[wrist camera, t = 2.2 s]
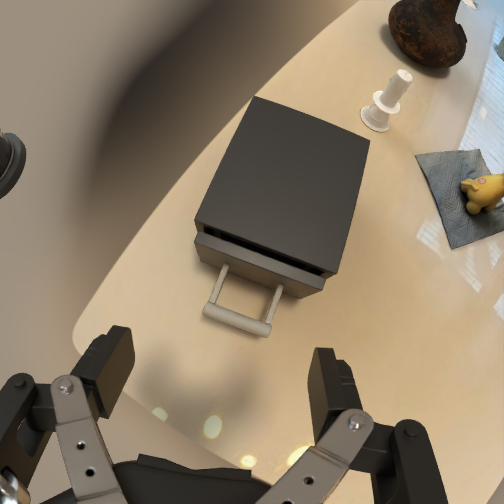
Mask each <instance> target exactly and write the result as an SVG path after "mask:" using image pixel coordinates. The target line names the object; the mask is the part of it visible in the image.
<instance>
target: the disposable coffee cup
mask: <svg viewBox="0 0 504 504" xmlns="http://www.w3.org/2000/svg"><path fill="white" fill-rule="evenodd" d="M496 51H497V53H498V55H499V56H500V57H501V58H502V59H503V61H504V37H503V39H502V40H501V42H500V44H499V45H498V47H497V50H496Z"/></svg>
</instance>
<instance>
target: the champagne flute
mask: <svg viewBox="0 0 504 504" xmlns="http://www.w3.org/2000/svg"><path fill="white" fill-rule="evenodd" d="M463 1H464V3H465V4H467V5H468V6H469V7H471V8H472V9H474V10H477V9H476V7H475V5H474V4H473V1H474V0H463Z"/></svg>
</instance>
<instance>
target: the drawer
mask: <svg viewBox="0 0 504 504" xmlns="http://www.w3.org/2000/svg"><path fill="white" fill-rule="evenodd" d="M194 244H195V246H196V249H197V252H198V255H199V258H200V261H201V262H203V263H206V264H208V265H211V266H213V267H216V268H219V269H221V272H220V275H219V277H218V280H217V283H216V285H215V288H214V290H213V293H212V295H211V298H210V301H209V302H207V303H206V305H205V307H204V310H203V315H206V316H209V317H211V318H214V319H216V320H219V321H222V322H224V323H227V324H229V325H232V326H235V327H238V328H240V329H243V330H246V331H248V332H251V333H254V334H257V335H260V336H262V337H265V338H267V337H268V336H269V334H270V331H271V328H272V326H271V325H269V324H271V321H272V318H273V316H274V313H275V310H276V307H277V304H278V302H279V299H280V296H281V293H282V292H283V293H285V294H288V295H291V296H293V297H296V298H299V299H302V298H304V297H307V296H309V295H312V294H314V293H317V292H319V291H322V290H323V287H324V284H325V281H326V279H325V278H323V277H320V276H318V275H315V274H312V273H310V272H308V271H309V270H311V269H312V268H313V267H311V266H308V265H305V264H303V263H300V262H297V261H295V260H292V259H290V258H287V257H284V256H282V255H279V254H276V253H274V252H271V251H268V250H266V249H263V248H260V247H258V246H255V245H253V244H250V243H247V242H245V241H242V240H239V239H237V238H234V237H231V236H229V235H226V234H223V233H221V232H218V231H215V230H214V236H212V235H209V234H206V233H204V232H201V231H198V233H197V236H196V238H195V240H194ZM227 272H229V273H232V274H234V275H237V276H240V277H242V278H245V279H248V280H250V281H253V282H256V283H258V284H261V285H264V286H266V287H269V288H272V289H274V290H276V291H275V294H274V297H273V300H272V303H271V305H270V308H269V311H268V314H267V316H266V319H265V322H261V321H258V320H255V319H253V318H250V317H247V316H245V315H242V314H239V313H236V312H234V311H231V310H229V309H226V308H223V307H221V306H218V305H215V302H216V300H217V297H218V294H219V292H220V289H221V287H222V284H223V281H224V279H225V276H226V274H227Z"/></svg>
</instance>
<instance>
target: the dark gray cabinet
mask: <svg viewBox="0 0 504 504" xmlns="http://www.w3.org/2000/svg"><path fill="white" fill-rule="evenodd" d="M369 145H370V140H368V139H366V138H363V137H361V136H359V135H357V134H354V133H352V132H350V131H348V130H345V129H343V128H340V127H338V126H336V125H333V124H331V123H328V122H326V121H323V120H321V119H318V118H316V117H313V116H311V115H308V114H305V113H303V112H300V111H297V110H295V109H292V108H289V107H286V106H283V105H281V104H278V103H275V102H272V101H269V100H266V99H263V98H260V97H256V96H254V97H253V98H252V100H251V102H250V104H249V106H248V108H247V110H246V112H245V114H244V116H243V118H242V120H241V122H240V124H239V126H238V128H237V130H236V132H235V134H234V136H233V138H232V140H231V142H230V144H229V146H228V148H227V150H226V152H225V154H224V156H223V158H222V160H221V163H220V165H219V167H218V169H217V171H216V173H215V175H214V177H213V179H212V182H211V184H210V186H209V188H208V190H207V192H206V195H205V197H204V199H203V201H202V203H201V206H200V208H199V210H198V212H197V215H196V217H195V219H194V221H195V225H196V228H197V232H198V231H201V232H204V233H206V234H209V235H212V236H214V230H215V231H218V232H221V233H223V234H226V235H229V236H231V237H234V238H237V239H239V240H242V241H245V242H247V243H250V244H253V245H255V246H258V247H260V248H263V249H266V250H268V251H271V252H274V253H276V254H279V255H282V256H284V257H287V258H290V259H292V260H295V261H297V262H300V263H303V264H305V265H308V266H311V267H313V268H312V269H311V270H309V271H308V272H310V273H312V274H315V275H318V276H320V277H323V278H325V279H327V278H329V277H331V276H333V275H335V274H337V271H338V268H339V265H340V261H341V258H342V254H343V251H344V247H345V243H346V240H347V236H348V233H349V229H350V225H351V221H352V217H353V214H354V210H355V206H356V202H357V198H358V194H359V189H360V185H361V181H362V177H363V172H364V168H365V163H366V159H367V154H368V150H369Z"/></svg>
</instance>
